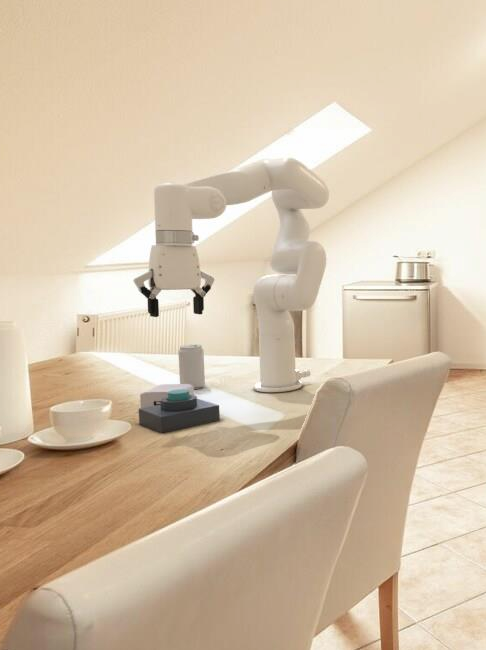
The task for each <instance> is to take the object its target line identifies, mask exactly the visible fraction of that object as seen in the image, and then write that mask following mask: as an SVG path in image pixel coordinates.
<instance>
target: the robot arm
mask: <svg viewBox="0 0 486 650" xmlns="http://www.w3.org/2000/svg"><path fill="white" fill-rule="evenodd" d="M153 191H154V192H153V197H154V198H153V199H154V200H153V201H154V202H153V203H154V230H155V231H154V232H155V244H152V245H151V247H150V252H149V259H148V271H146V272H145V273H143V274H141V275H139V276H137V277H135V278H133V283H134V284H135V286H136V288H137V290H138V292H140V293H141V294H142V295H143V296H144V297H145V298H146V299H147V313H148V314H149V316H150V317H153V318H159V317H160V310H159V309H160V308H159V305H160V304H159V299H158V298H157V296H158V295H159V294H160V293H161V291H177V290H178V291H179V290H181V291H182V290H190V291H191V292H192V293H193V295H194V296H193V298H192V301H193V303H192V304H193V305H192V307H193V314H195V315H203V313H204V310H205V302H204V300H205V299H204V298H205V297H206V295H207V294H208V293H209V291H211V289H212V286H213V284H214V282H215V277H213V276H212V275H209V274H207V273H205V272H203V271H202V270H201V266H200V265H201V264H200V259H199V254H198V250H197V246H196V245H194V243H195V242H198V241H199V239H200V237H199V235H198V234H195V233H194V231H193V220H210V219H216V218H218V217H220V216H221V215H223V213H225V211H226V208H227V206H235V205H239V204H245V203H248V202H250V201H253V200H255V199H257V198H259V197H261V196H264V195H266V194H268V193H271V199H272V202H273V205H274V207H275V209H276V211H277V214H278V217H279V228H278V231H277V235H276V237H275V240H274V243H273V246H272V250H271V253H270V257H269V266H270V268H271V270H273V272H275V273H277V274H271V275H270V274H269V275H264V276H262V277H259V279H257V281H255V283H254V285H253V288H252V289H253V290H252V293H253V294H252V296H253V301H254V305H255V309H256V314H257V325H258V349H259V350H258V351H259V377H260V379H259V380H260V382H257V383H255V384H254V390H255V391H257V392H259V393H260V392H261V393H285V392H291V391H295V390H298V389H300V388H302V386H303V384H302V383H303V382H302V381H301V379H302V378H308V377H310V376H311V370H309V369H306V370H300V369H297V367H296V339H295V337H296V336H295V322H294V319H293V317H292V315H291V313H290V311H297V312H298V311H299V312H300V311H301V312H302V311H307V310H310V309H311V308H312V307H313V306H314V304H315V302H316V301H317V298H318V294H319V292H320V288H321V285H322V281H323V277H324V274H325V270H326V266H327V253H326V250H325V248H324V246H323V245H322V244H321V243H320V242H318V241H315V240H309V238H310V235H311V233H310V232H311V228H310V223H309V221H308V219H307V218H306V216H305V215H304V213H303V211H302V210H316V209H317V210H318V209H321V208H323V207H325V206H326V205H327V204H328V203H329V202H328V201H329V197H330V191H329V188H328V185H327V184H326V182H325V181H324V180H323V179H322V178H321V177H320V176H319V175H318V174H316V173H315V172H314V171H313V170H312V169H310V167H308V166H306V165H305V164H304V163H303V162H301V161H299V160H298V159H296V158H294V157H286V156H285V157H269V158H263V159H259V160H256V161H253V162H251V163H248V164H245V165H243V166H239V167H237V168H234V169H231V170H228V171H224V172H220V173H217V174H214V175H209V176H206V177H201V178H199V179H194V180H191V181H188V182H185V183H178V182H177V183H176V182H161V183H158V184H156V185H155V186H154V190H153ZM202 280H204V281H205V282H204V284H203V285H201V284H202ZM147 281H148V282H147ZM145 282H147V283H148V287H149V289H148V288H147V286H146V285H145Z"/></svg>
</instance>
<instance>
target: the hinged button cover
mask: <svg viewBox="0 0 486 650" xmlns="http://www.w3.org/2000/svg"><path fill="white" fill-rule="evenodd" d="M179 389H186V390H189V395H195V389H194V387H193V386H192V385H190V384H180V383H172V384H171V383H169V384H167V383H165V384H164V383H163V384H158V385H156V386H154V387H152V388H150V389H148V390H146V391H144V392H142V393H141V394H139V399H140V401H139V402H140V408H145V407H151V406H156V405H161V403H160V401H161V399H162V398H165V397H168V392H169V391H172V390H179Z"/></svg>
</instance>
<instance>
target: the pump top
mask: <svg viewBox="0 0 486 650" xmlns="http://www.w3.org/2000/svg"><path fill="white" fill-rule="evenodd" d="M189 398H190V395H189V390H186V389H179V390H172V391H169V392H168V401H181V400H186V399H189Z"/></svg>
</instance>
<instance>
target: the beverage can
mask: <svg viewBox="0 0 486 650" xmlns="http://www.w3.org/2000/svg"><path fill="white" fill-rule="evenodd" d="M204 352H205V351H204V348H203V345H202V344H184V345H180V346H179V349H178V353H177V354H178V370H179V371H178V372H179V384H190V385H192V386H193V387H194V390H199V389H203V387H204V386H205V385H206V376H205V357H204Z"/></svg>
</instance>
